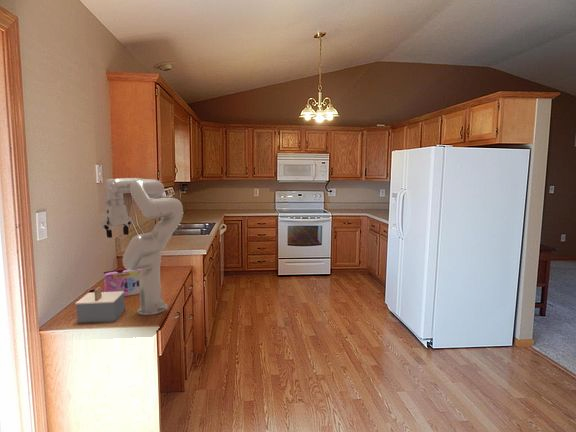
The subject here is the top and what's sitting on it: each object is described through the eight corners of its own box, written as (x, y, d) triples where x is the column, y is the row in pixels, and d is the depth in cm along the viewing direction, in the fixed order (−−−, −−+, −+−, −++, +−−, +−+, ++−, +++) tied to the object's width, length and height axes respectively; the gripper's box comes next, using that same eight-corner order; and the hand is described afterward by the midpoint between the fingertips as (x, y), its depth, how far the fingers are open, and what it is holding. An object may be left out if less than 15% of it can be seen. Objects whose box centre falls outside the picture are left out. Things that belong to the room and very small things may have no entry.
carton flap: (88, 293, 179) (88, 282, 178) (124, 292, 181) (123, 281, 180) (75, 304, 165) (74, 292, 164) (113, 302, 167) (113, 290, 166)
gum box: (149, 287, 216) (148, 265, 215) (153, 291, 210) (151, 268, 208) (104, 295, 203) (102, 271, 202) (106, 300, 197) (104, 275, 195)
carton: (90, 311, 180) (89, 293, 179) (125, 310, 182) (123, 292, 181) (77, 323, 166) (76, 304, 165) (114, 321, 168) (113, 302, 167)
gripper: (104, 204, 181) (107, 239, 182) (134, 201, 196) (137, 233, 198) (95, 204, 184) (98, 238, 186) (125, 201, 199) (127, 233, 201)
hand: (118, 236), depth 192 cm, fingers open, 9 cm apart
